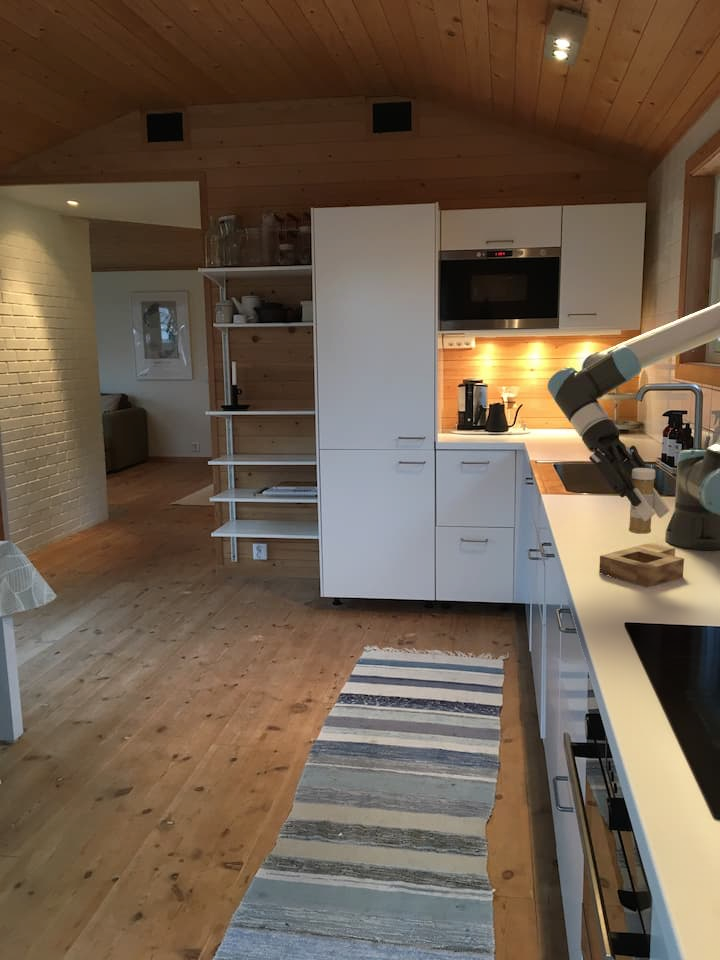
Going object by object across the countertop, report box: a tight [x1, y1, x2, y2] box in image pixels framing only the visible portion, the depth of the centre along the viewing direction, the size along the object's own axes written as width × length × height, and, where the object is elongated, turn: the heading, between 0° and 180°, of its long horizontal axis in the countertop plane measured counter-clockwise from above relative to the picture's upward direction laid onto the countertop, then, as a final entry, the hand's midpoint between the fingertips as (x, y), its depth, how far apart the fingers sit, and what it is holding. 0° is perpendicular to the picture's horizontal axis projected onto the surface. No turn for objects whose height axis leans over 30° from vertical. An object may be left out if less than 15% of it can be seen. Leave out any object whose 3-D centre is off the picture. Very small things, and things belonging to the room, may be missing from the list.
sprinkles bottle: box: [628, 467, 656, 535], centre depth 160 cm, size 5×5×13 cm
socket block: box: [598, 546, 685, 588], centre depth 162 cm, size 12×12×4 cm
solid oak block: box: [634, 542, 676, 557], centre depth 170 cm, size 6×6×4 cm
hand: (657, 515), depth 157 cm, fingers closed on sprinkles bottle, 4 cm apart
